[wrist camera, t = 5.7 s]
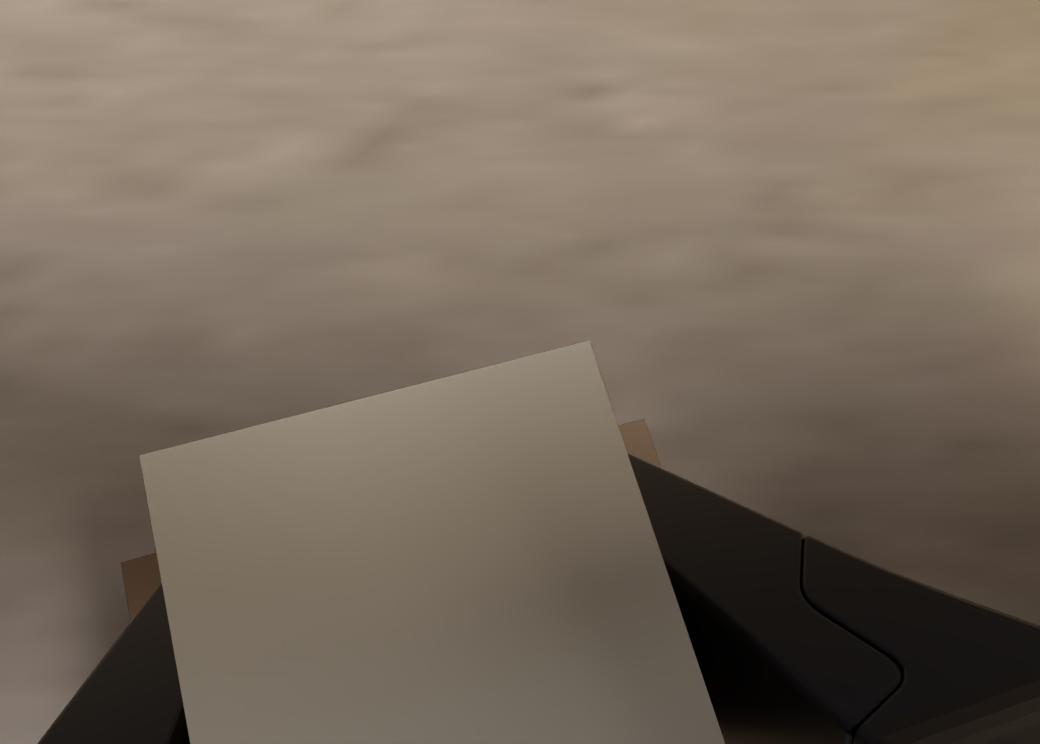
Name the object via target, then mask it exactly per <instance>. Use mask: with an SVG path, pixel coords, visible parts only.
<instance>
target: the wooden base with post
mask: <svg viewBox="0 0 1040 744" xmlns="http://www.w3.org/2000/svg"><path fill="white" fill-rule="evenodd" d="M627 453H629V454H631V455H633V456H635V457H638V458H640V459H642V460H644V461H646V462H649V463H651V464H653V465H655V466H657V467H660V468H661V466H660V463H659V460H658V457H657V454H656V452H655V449H654V446H653V443H652V440H651V437H650V434H649V431H648V428H647V426H646V423H645V420H644V419H641V420H637V421H633V422H630V423H626V424H623V425H619V426H618V424H617V421H616V418H615V415H614V412H613V409H612V406H611V403H610V400H609V397H608V394H607V391H606V389H605V386H604V383H603V380H602V377H601V374H600V371H599V368H598V365H597V362H596V359H595V356H594V353H593V350H592V347H591V344H590V341H585V342H581V343H577V344H573V345H569V346H565V347H561V348H557V349H553V350H549V351H545V352H542V353H538V354H534V355H530V356H526V357H522V358H518V359H514V360H510V361H506V362H502V363H498V364H495V365H491V366H487V367H483V368H479V369H475V370H471V371H467V372H463V373H459V374H455V375H452V376H448V377H444V378H440V379H436V380H432V381H428V382H424V383H420V384H416V385H412V386H408V387H405V388H401V389H397V390H393V391H389V392H385V393H381V394H377V395H373V396H369V397H365V398H361V399H358V400H354V401H350V402H346V403H342V404H338V405H334V406H330V407H326V408H322V409H318V410H314V411H311V412H307V413H303V414H299V415H295V416H291V417H287V418H283V419H279V420H275V421H271V422H267V423H264V424H260V425H256V426H252V427H248V428H244V429H240V430H236V431H232V432H228V433H224V434H221V435H217V436H213V437H209V438H205V439H201V440H197V441H193V442H189V443H185V444H181V445H177V446H174V447H170V448H166V449H162V450H158V451H154V452H150V453H146V454H142V455H139V457H140V463H141V468H142V474H143V480H144V485H145V491H146V497H147V502H148V508H149V513H150V519H151V525H152V530H153V536H154V542H155V547H156V553H154V554H151V555H147V556H143V557H140V558H136V559H132V560H129V561H125V562H122V563H121V566H122V572H123V578H124V584H125V590H126V596H127V602H128V608H129V614H130V620H131V621H132V620H133V619H134V617H135V616H136V615H137V613H138V612H139V611H140V609H141V608H142V607H143V606H144V604H145V603H146V602H147V600H148V599H149V598H150V596H151V595H152V594H153V592H154V591H155V590H156V589H157V587H158V586H159V585H160V583H161V582H162V587H163V592H164V598H165V604H166V609H167V615H168V621H169V626H170V632H171V638H172V643H173V649H174V654H175V660H176V666H177V671H178V677H179V683H180V688H181V694H182V700H183V705H184V711H185V716H186V722H187V728H188V733H189V739H190V744H725V742H724V739H723V736H722V733H721V730H720V727H719V724H718V721H717V718H716V715H715V712H714V709H713V706H712V703H711V700H710V697H709V694H708V691H707V688H706V685H705V682H704V679H703V676H702V673H701V670H700V668H699V665H698V662H697V659H696V656H695V653H694V650H693V647H692V644H691V641H690V638H689V635H688V632H687V629H686V626H685V623H684V620H683V617H682V614H681V611H680V608H679V605H678V602H677V599H676V596H675V593H674V590H673V587H672V584H671V581H670V578H669V576H668V573H667V570H666V567H665V564H664V561H663V558H662V555H661V552H660V549H659V546H658V543H657V540H656V537H655V534H654V531H653V528H652V525H651V522H650V519H649V516H648V513H647V510H646V507H645V504H644V501H643V498H642V495H641V492H640V489H639V486H638V483H637V481H636V478H635V475H634V472H633V469H632V466H631V463H630V460H629V457H628V454H627Z"/></svg>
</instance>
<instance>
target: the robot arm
mask: <svg viewBox="0 0 1040 744" xmlns="http://www.w3.org/2000/svg"><path fill="white" fill-rule="evenodd" d="M627 454H628V457H629V460H630V463H631V466H632V469H633V472H634V475H635V478H636V481H637V483H638V486H639V489H640V492H641V495H642V498H643V501H644V504H645V507H646V510H647V513H648V516H649V519H650V522H651V525H652V528H653V531H654V534H655V537H656V540H657V543H658V546H659V549H660V552H661V555H662V558H663V561H664V564H665V567H666V570H667V573H668V576H669V578H670V581H671V584H672V587H673V590H674V593H675V596H676V599H677V602H678V605H679V608H680V611H681V614H682V617H683V620H684V623H685V626H686V629H687V632H688V635H689V638H690V641H691V644H692V647H693V650H694V653H695V656H696V659H697V662H698V665H699V668H700V670H701V673H702V676H703V679H704V682H705V685H706V688H707V691H708V694H709V697H710V700H711V703H712V706H713V709H714V712H715V715H716V718H717V721H718V724H719V727H720V730H721V733H722V736H723V739H724V742H725V744H1040V626H1038V625H1035V624H1033V623H1030V622H1027V621H1024V620H1021V619H1019V618H1016V617H1013V616H1010V615H1007V614H1005V613H1002V612H999V611H996V610H993V609H991V608H988V607H985V606H982V605H980V604H977V603H974V602H971V601H968V600H966V599H963V598H960V597H957V596H954V595H952V594H949V593H946V592H944V591H941V590H938V589H936V588H933V587H930V586H928V585H925V584H922V583H920V582H917V581H915V580H912V579H909V578H907V577H904V576H901V575H899V574H896V573H894V572H891V571H888V570H886V569H884V568H881V567H879V566H877V565H874V564H872V563H870V562H867V561H865V560H863V559H860V558H858V557H856V556H853V555H851V554H849V553H846V552H844V551H842V550H840V549H837V548H835V547H833V546H831V545H829V544H826V543H824V542H822V541H820V540H818V539H815V538H813V537H811V536H806V537H805V538H804V535H803V534H802V533H801V532H800V531H797V530H795V529H793V528H791V527H789V526H786V525H784V524H782V523H780V522H778V521H775V520H773V519H771V518H769V517H767V516H765V515H762V514H760V513H758V512H756V511H754V510H751V509H749V508H747V507H745V506H743V505H740V504H738V503H736V502H734V501H732V500H730V499H727V498H725V497H723V496H721V495H719V494H716V493H714V492H712V491H710V490H708V489H705V488H703V487H701V486H699V485H697V484H695V483H692V482H690V481H688V480H686V479H684V478H681V477H679V476H677V475H675V474H673V473H670V472H668V471H666V470H664V469H662V468H660V467H657V466H655V465H653V464H651V463H649V462H646V461H644V460H642V459H640V458H638V457H635V456H633V455H631V454H629V453H627ZM38 744H190V739H189V733H188V728H187V722H186V716H185V711H184V705H183V700H182V694H181V688H180V683H179V677H178V671H177V666H176V660H175V654H174V649H173V643H172V638H171V632H170V626H169V621H168V615H167V609H166V604H165V598H164V592H163V587H162V582H161V583H160V585H159V586H158V587H157V589H156V590H155V591H154V592H153V594H152V595H151V596H150V598H149V599H148V600H147V602H146V603H145V604H144V606H143V607H142V608H141V609H140V611H139V612H138V613H137V615H136V616H135V617H134V619H133V620H132V621H131V622H130V624H129V625H128V626H127V628H126V629H125V630H124V632H123V633H122V634H121V635H120V637H119V638H118V639H117V641H116V642H115V643H114V645H113V646H112V647H111V648H110V650H109V651H108V652H107V654H106V655H105V656H104V658H103V659H102V660H101V662H100V663H99V664H98V665H97V667H96V668H95V669H94V671H93V672H92V673H91V675H90V676H89V677H88V678H87V680H86V681H85V682H84V684H83V685H82V686H81V688H80V689H79V690H78V691H77V693H76V694H75V695H74V697H73V698H72V699H71V701H70V702H69V703H68V704H67V706H66V707H65V708H64V710H63V711H62V712H61V714H60V715H59V716H58V718H57V719H56V720H55V721H54V723H53V724H52V725H51V727H50V728H49V729H48V731H47V732H46V733H45V734H44V736H43V737H42V738H41V740H40V741H39V742H38Z"/></svg>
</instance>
